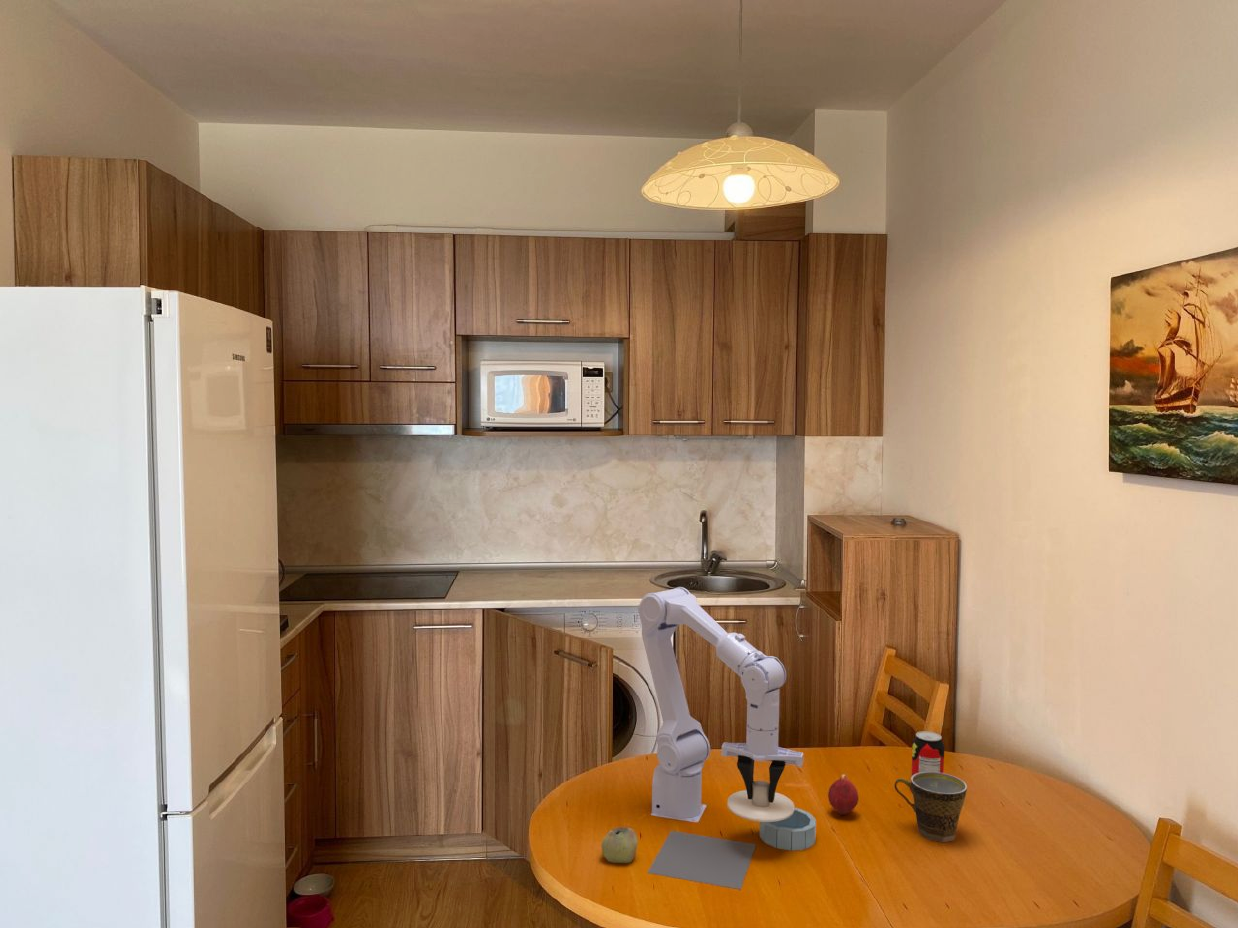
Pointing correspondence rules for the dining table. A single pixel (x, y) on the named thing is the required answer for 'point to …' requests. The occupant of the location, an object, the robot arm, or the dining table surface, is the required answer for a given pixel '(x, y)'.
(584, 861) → the dining table surface
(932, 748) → the beverage can
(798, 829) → the bowl
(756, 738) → the robot arm
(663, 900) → the dining table surface
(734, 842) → the mat
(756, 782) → the lid
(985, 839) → the dining table surface
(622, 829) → the apple
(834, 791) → the onion
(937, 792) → the ceramic cup
